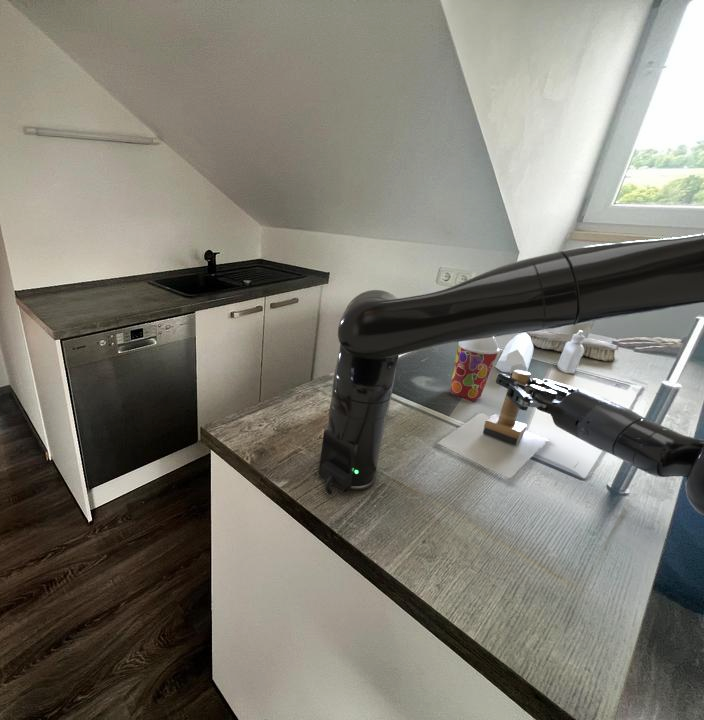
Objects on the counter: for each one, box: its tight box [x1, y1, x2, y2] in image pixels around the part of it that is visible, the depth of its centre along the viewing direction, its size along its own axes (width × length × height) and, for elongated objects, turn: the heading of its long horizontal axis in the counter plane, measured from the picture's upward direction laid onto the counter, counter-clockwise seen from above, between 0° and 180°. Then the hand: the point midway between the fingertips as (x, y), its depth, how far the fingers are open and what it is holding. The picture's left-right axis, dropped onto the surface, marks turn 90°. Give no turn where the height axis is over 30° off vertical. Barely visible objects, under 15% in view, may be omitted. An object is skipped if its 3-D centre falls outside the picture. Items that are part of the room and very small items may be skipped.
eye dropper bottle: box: [556, 331, 584, 374], centre depth 110 cm, size 4×6×12 cm
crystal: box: [494, 332, 535, 375], centre depth 117 cm, size 7×7×24 cm
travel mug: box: [557, 321, 595, 338], centre depth 132 cm, size 8×8×18 cm
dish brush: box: [483, 370, 532, 445], centre depth 78 cm, size 5×6×14 cm
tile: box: [436, 412, 550, 480], centre depth 79 cm, size 20×13×1 cm, turn 126°
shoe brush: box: [526, 330, 619, 362], centre depth 125 cm, size 24×8×5 cm, turn 52°
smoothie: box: [449, 337, 500, 402], centre depth 94 cm, size 8×8×20 cm
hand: (505, 376), depth 79 cm, fingers closed on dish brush, 3 cm apart
